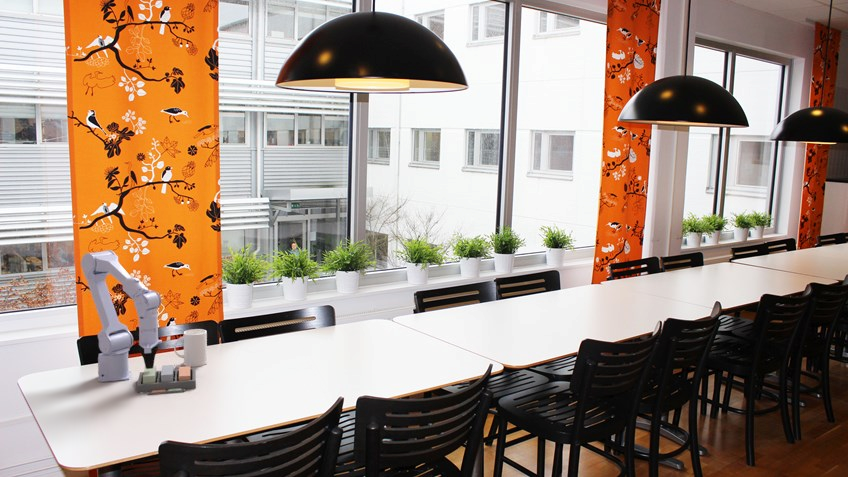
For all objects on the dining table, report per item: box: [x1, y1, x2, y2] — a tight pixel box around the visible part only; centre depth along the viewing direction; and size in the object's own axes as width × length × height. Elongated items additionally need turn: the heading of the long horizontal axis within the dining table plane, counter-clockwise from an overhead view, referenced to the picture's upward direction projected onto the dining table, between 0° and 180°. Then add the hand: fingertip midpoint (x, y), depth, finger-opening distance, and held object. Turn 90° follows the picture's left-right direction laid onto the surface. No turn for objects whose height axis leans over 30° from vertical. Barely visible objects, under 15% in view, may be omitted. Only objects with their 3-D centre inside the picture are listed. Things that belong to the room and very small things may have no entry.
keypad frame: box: [136, 367, 197, 394], centre depth 224 cm, size 18×13×3 cm
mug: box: [173, 328, 209, 368], centre depth 244 cm, size 12×8×12 cm
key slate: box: [160, 364, 174, 383], centre depth 224 cm, size 4×10×3 cm, turn 19°
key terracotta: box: [178, 366, 191, 381], centre depth 226 cm, size 4×10×3 cm, turn 19°
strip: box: [147, 388, 186, 396], centre depth 217 cm, size 11×2×1 cm, turn 109°
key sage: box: [142, 365, 157, 384], centre depth 222 cm, size 4×10×3 cm, turn 19°
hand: (149, 368), depth 221 cm, fingers closed
